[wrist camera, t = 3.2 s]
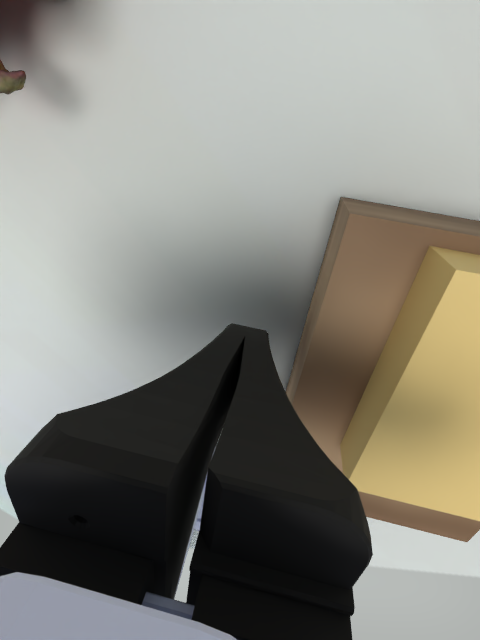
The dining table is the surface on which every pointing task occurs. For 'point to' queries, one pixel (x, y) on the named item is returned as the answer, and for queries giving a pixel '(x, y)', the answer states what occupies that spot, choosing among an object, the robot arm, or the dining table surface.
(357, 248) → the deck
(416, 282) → the yellow rectangular block
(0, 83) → the dragon fruit
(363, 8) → the dining table surface
